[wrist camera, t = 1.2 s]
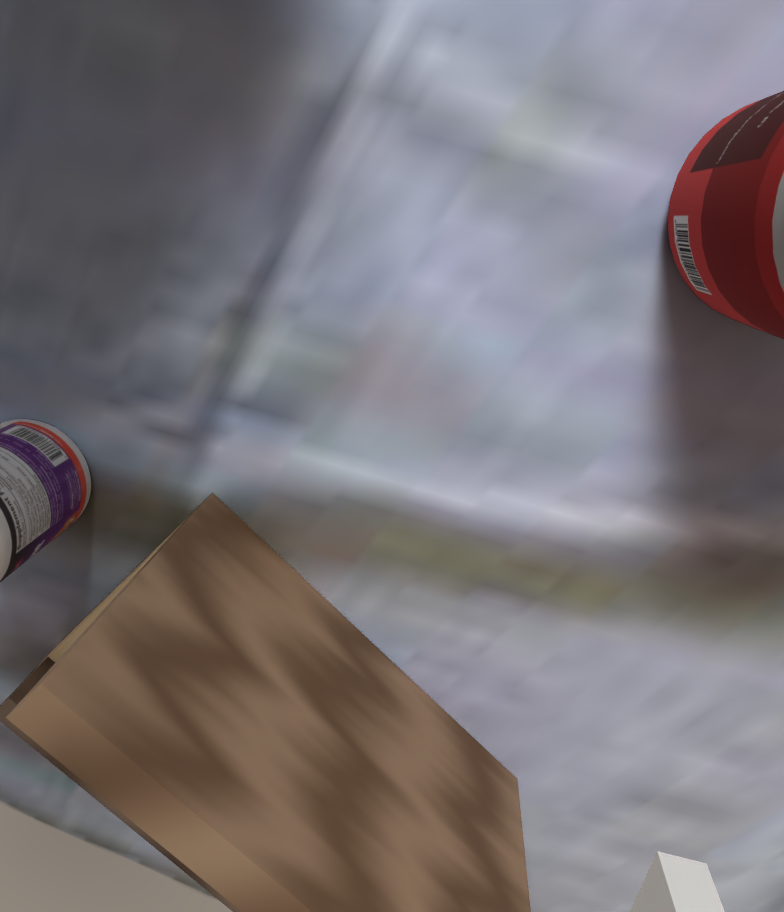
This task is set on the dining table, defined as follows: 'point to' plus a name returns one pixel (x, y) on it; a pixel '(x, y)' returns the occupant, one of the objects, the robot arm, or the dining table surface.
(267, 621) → the cleat board
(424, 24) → the dining table surface
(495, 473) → the dining table surface
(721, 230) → the canned food
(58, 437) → the pill bottle
